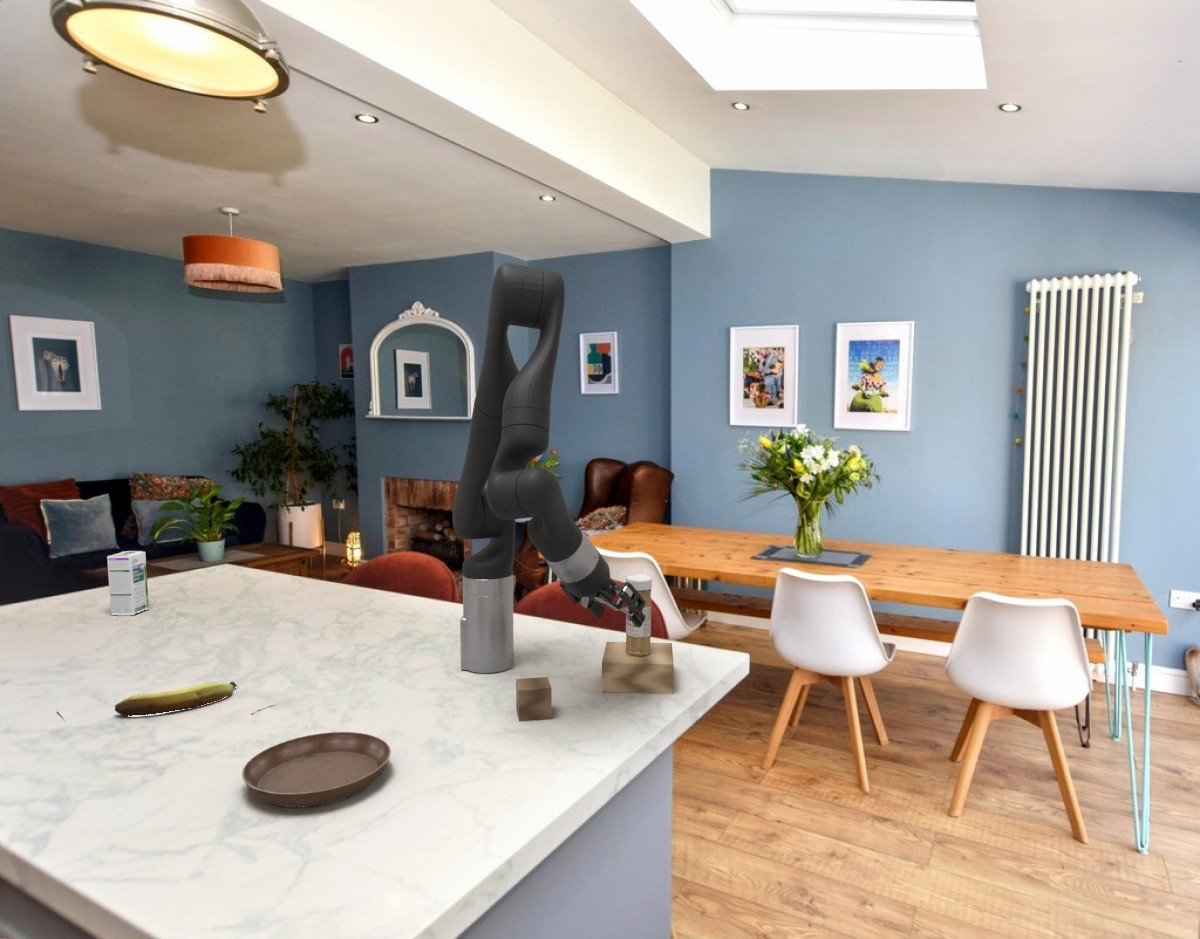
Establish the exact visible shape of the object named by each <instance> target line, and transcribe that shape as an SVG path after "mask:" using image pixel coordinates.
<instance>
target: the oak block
mask: <svg viewBox="0 0 1200 939" xmlns="http://www.w3.org/2000/svg"><path fill="white" fill-rule="evenodd" d="M625 649H626V641H606V642H605V646H604V651H603V652H604V653H603V655H602V656H603V657H602V661H601V692H602V693H622V692H631V693H630V694H632V693H634V694H663V693H673V694H674V678H675V677H674V670H675V669H674V667H675V666H674V654H673V652H674V651H673V643H672V642H650V649H651V652H650V653H649V654H647V655H644V656H633V655H629V654H627V653H626V651H625Z"/></svg>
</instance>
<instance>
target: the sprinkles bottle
mask: <svg viewBox="0 0 1200 939" xmlns="http://www.w3.org/2000/svg"><path fill="white" fill-rule="evenodd" d="M625 582H629V583H630V584H632V586H633V587H634V588H635V589H636V591H637V592H638V593H639V594H640V596H641V597H642V598H643V599H644V601H645V602H646V604H645V606H644V608H643V610H642V613H643V614H644V615H645V620H644V622H643V624H642V626H641V627H636V626H635V625H634V624H633V622H632V621H631V620H630V618H629V617H628V616H627V614H625V615H626V616H625V636H626V638H625V640H626V641H625V642H626V649H625V651H626V653H627V654H629V655H633V656H644V655H647V654H649V653H650V652H651V649H650V643H651V635H652V634H651V633H652V600H651V599H652V594H651V593H652V588H653V579H652V577H650V576H649V575H645V574H641V575H640V574H637V575H636V574H634V575H629V576H628V575H627V577H626V578H625ZM626 608H627V609H628V606H627V605H626Z"/></svg>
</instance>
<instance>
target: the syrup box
mask: <svg viewBox="0 0 1200 939" xmlns="http://www.w3.org/2000/svg"><path fill="white" fill-rule="evenodd" d="M106 560H107V562H106V563H107V574H108V575H107V576H108V588H109V589H108V590H109V591H108V592H109V607H110V614H111V613H135V612H137V611H140V610H142V609H145V608H148V607H149V608H150V606H149V605H150V604H149V590H148V587H149V586H148V573H147V557H146V551H144V550H127V551H126V550H125V551H121V552H119V553H113V554H112V555H111V554H110V555H108V556H106Z"/></svg>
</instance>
